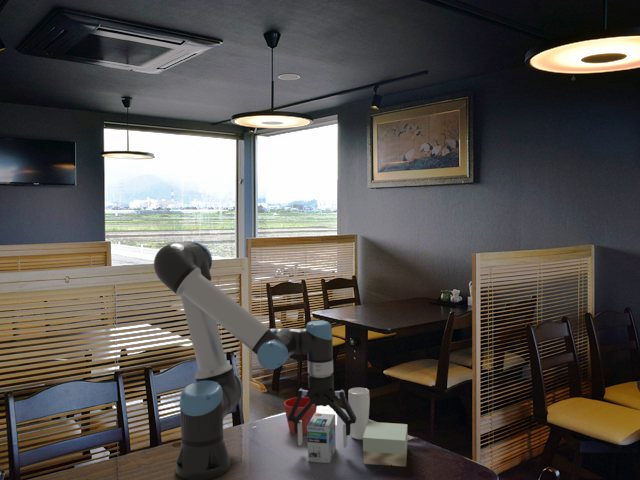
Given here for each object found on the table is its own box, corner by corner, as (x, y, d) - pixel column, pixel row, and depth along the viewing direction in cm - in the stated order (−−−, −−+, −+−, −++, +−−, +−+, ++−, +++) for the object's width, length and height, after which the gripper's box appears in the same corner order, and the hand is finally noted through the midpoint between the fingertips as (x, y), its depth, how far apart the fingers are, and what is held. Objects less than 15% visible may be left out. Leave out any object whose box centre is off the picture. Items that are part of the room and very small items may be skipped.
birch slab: (363, 465, 157) (363, 451, 157) (367, 447, 169) (367, 434, 169) (406, 468, 155) (405, 454, 155) (407, 449, 167) (407, 436, 166)
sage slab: (363, 451, 157) (362, 437, 157) (368, 434, 169) (367, 421, 168) (405, 454, 154) (405, 440, 154) (407, 437, 166) (407, 424, 166)
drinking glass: (373, 435, 177) (373, 389, 176) (363, 442, 171) (363, 395, 170) (355, 431, 180) (354, 386, 180) (345, 438, 175) (344, 392, 174)
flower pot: (288, 424, 188) (287, 396, 187) (319, 425, 186) (319, 396, 186) (281, 436, 177) (280, 407, 177) (315, 437, 176) (314, 408, 175)
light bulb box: (330, 464, 157) (329, 427, 157) (307, 462, 158) (306, 425, 158) (336, 448, 168) (335, 413, 167) (314, 446, 169) (314, 412, 168)
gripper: (276, 376, 160) (278, 448, 161) (361, 378, 156) (363, 452, 157) (282, 369, 168) (284, 437, 169) (364, 371, 163) (365, 441, 164)
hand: (322, 444), depth 163 cm, fingers open, 13 cm apart
